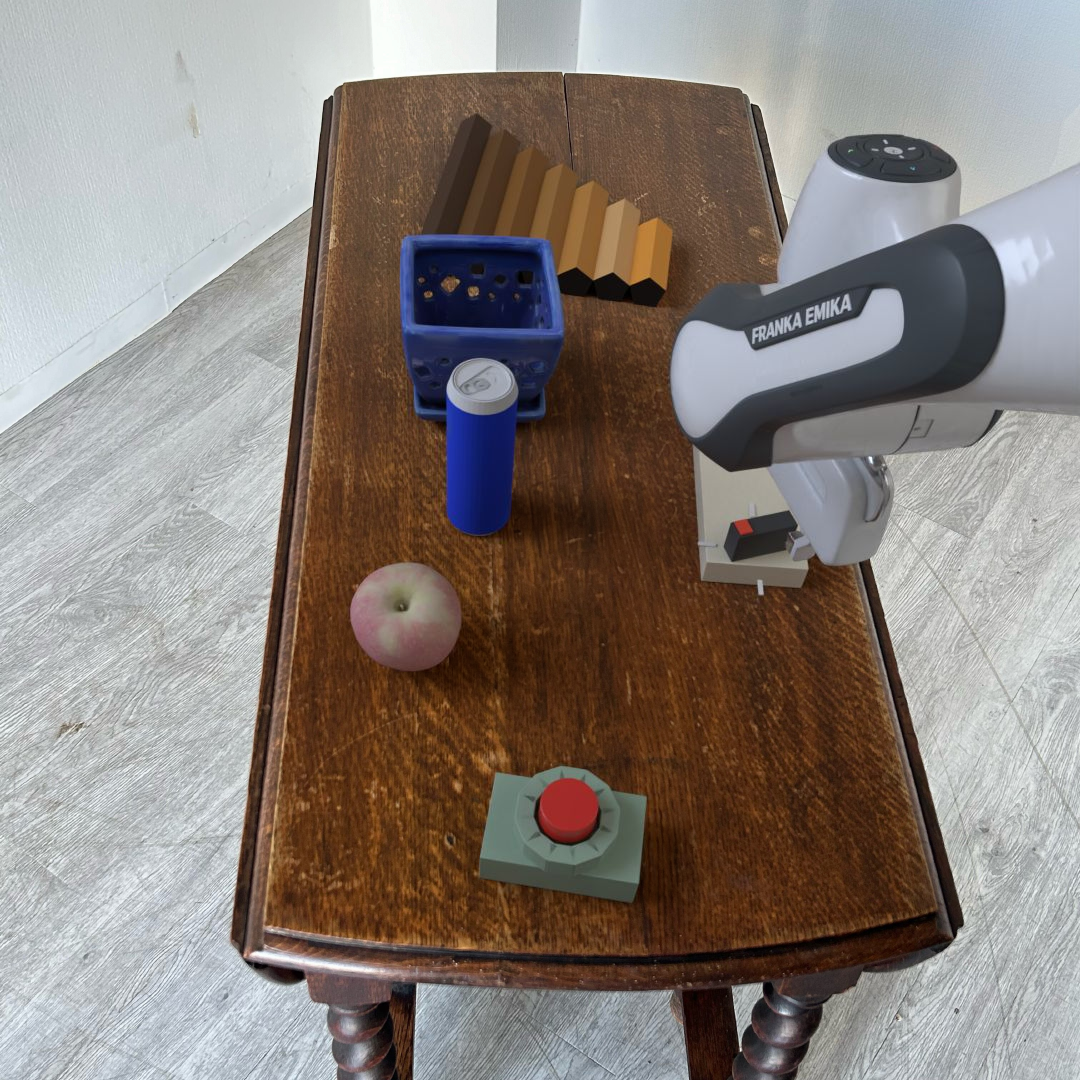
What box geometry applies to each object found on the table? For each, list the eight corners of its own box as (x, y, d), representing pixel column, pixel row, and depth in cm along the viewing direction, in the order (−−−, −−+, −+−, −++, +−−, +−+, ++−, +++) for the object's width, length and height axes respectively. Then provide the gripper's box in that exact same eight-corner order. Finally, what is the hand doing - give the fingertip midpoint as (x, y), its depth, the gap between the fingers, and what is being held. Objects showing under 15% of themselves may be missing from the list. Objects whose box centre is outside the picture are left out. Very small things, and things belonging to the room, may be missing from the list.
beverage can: (484, 482, 93) (489, 346, 82) (522, 520, 91) (533, 385, 79) (434, 510, 91) (432, 373, 79) (472, 550, 89) (476, 415, 77)
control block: (640, 814, 75) (651, 779, 71) (632, 907, 71) (642, 876, 67) (495, 790, 76) (497, 755, 72) (477, 881, 72) (479, 849, 68)
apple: (333, 661, 81) (323, 596, 75) (394, 591, 86) (390, 524, 79) (423, 713, 79) (420, 650, 73) (481, 638, 83) (484, 573, 77)
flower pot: (545, 339, 105) (554, 232, 96) (556, 439, 97) (567, 333, 88) (404, 338, 104) (399, 230, 95) (403, 440, 96) (398, 333, 87)
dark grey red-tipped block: (780, 534, 88) (790, 507, 86) (789, 549, 87) (799, 523, 85) (723, 546, 87) (731, 520, 85) (731, 562, 86) (739, 535, 84)
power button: (598, 795, 71) (601, 782, 70) (592, 847, 69) (595, 835, 67) (542, 786, 71) (544, 773, 70) (534, 838, 69) (536, 826, 67)
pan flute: (460, 138, 126) (413, 272, 110) (461, 110, 124) (412, 243, 108) (679, 168, 125) (662, 307, 109) (683, 140, 123) (668, 279, 107)
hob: (812, 618, 87) (821, 598, 84) (695, 610, 86) (701, 590, 84) (786, 428, 100) (793, 407, 98) (684, 420, 100) (689, 399, 98)
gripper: (941, 473, 67) (873, 605, 78) (794, 266, 79) (753, 406, 90) (849, 492, 66) (793, 624, 77) (713, 279, 78) (681, 419, 89)
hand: (770, 505), depth 84 cm, fingers open, 8 cm apart
